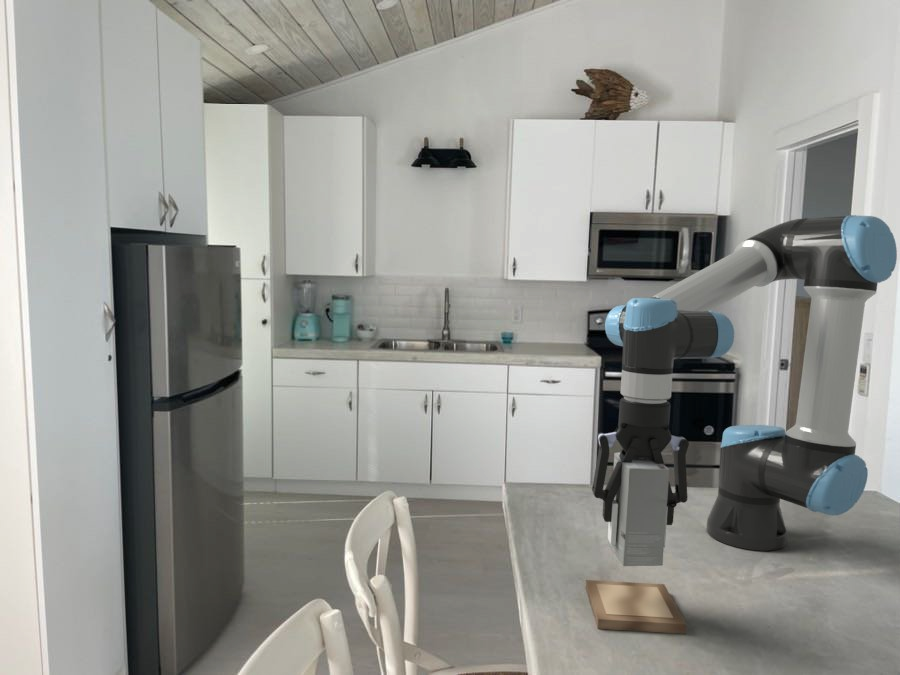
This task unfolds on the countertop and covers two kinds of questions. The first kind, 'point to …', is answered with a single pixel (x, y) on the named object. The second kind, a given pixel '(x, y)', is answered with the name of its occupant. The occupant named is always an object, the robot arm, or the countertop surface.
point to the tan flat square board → (634, 607)
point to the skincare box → (641, 512)
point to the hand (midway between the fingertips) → (635, 542)
